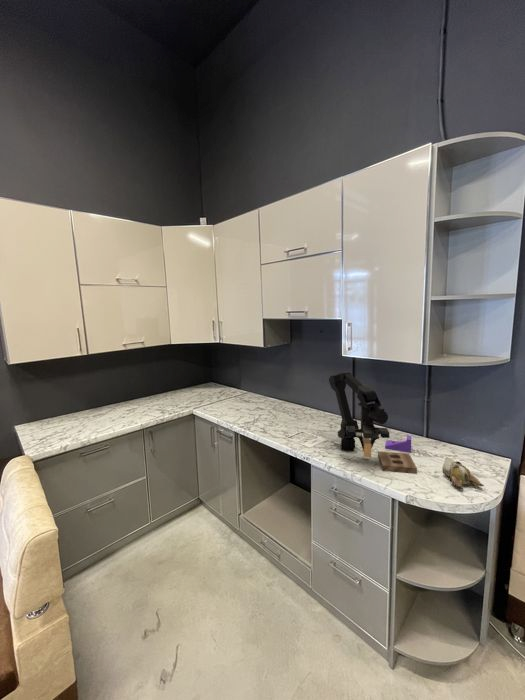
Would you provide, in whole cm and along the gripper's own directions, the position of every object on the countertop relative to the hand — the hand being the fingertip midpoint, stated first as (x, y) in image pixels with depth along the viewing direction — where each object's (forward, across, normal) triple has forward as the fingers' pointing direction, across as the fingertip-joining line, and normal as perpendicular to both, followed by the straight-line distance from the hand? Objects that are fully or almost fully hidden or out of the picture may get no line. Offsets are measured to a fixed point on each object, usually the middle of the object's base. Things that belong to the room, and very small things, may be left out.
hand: (366, 449), depth 143 cm
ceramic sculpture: (+6, +35, -11) cm, 37 cm away
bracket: (+7, +17, +18) cm, 26 cm away
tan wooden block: (+2, 0, 0) cm, 2 cm away
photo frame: (+7, -30, +21) cm, 37 cm away
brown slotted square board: (+6, +13, 0) cm, 14 cm away
